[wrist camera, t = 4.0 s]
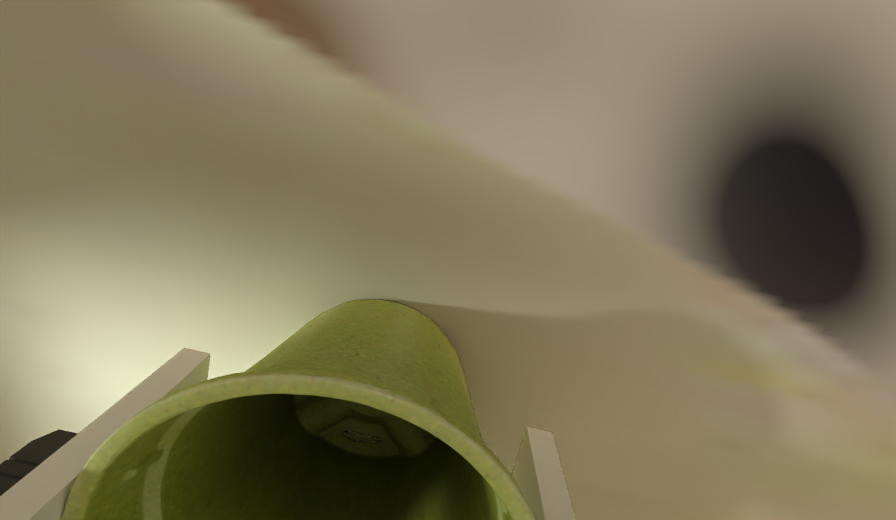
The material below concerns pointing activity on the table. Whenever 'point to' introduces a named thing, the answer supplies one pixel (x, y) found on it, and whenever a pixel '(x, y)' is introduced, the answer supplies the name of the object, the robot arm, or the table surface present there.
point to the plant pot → (311, 435)
